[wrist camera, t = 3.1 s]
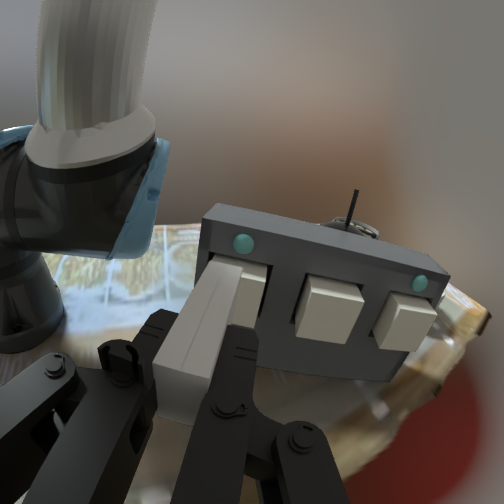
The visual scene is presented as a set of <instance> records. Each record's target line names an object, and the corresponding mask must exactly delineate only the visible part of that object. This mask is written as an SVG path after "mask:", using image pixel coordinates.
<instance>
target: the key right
mask: <svg viewBox="0 0 504 504" xmlns="http://www.w3.org/2000/svg"><path fill="white" fill-rule="evenodd" d="M436 317H437V313H436V312H435V311H434V309H433V308H432V306H431V305H430V304H429V302H428V301H427V300H426V298H425V297H422V296H417V295H412V294H407V293H402V292H397V291H392V290H390V292H389V294H388V296H387V298H386V300H385V303H384V305H383V307H382V309H381V311H380V313H379V315H378V317H377V319H376V321H375V323H374V325H373V327H372V331H373V334H374V336H375V339H376V342H377V344H378V347H379V349H388V350H398V351H410V352H416V351H417V349H418V348H419V346H420V345H421V343H422V341H423V340H424V338H425V336H426V335H427V333H428V331H429V330H430V328H431V326H432V324H433V323H434V321H435V319H436Z"/></svg>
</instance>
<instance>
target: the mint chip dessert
mask: <svg viewBox="0 0 504 504" xmlns="http://www.w3.org/2000/svg"><path fill="white" fill-rule="evenodd" d="M333 221H340V222H346V218H343V217H336V218H334V220H333ZM350 224H351V225H353V226H355V227H356V228H358V229H359V230H360V231H361V232H362V233H363V234H364V235H365V236H366V237H368V238H372V239H376V240H379V232H378V231H377V230H375V229H374V228H372V227H371V226H369V225H366V224H364V223H362V222H359V221H356V220H352V219H351V221H350Z"/></svg>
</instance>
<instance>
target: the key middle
mask: <svg viewBox="0 0 504 504" xmlns="http://www.w3.org/2000/svg"><path fill="white" fill-rule="evenodd" d="M363 305H364V300H363V298H362V295H361V293H360V291H359V289H358V287H357V285H356V283H354V282H349V281H344V280H340V279H335V278H330V277H325V276H321V275H316V274H311V273H307V276H306V279H305V282H304V285H303V289H302V292H301V295H300V298H299V301H298V304H297V307H296V310H295V330H296V337H301V338H307V339H313V340H319V341H326V342H332V343H339V344H345V343H346V341H347V339H348V337H349V335H350V332H351V330H352V328H353V326H354V324H355V322H356V320H357V318H358V316H359V313H360V311H361V309H362V307H363Z"/></svg>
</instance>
